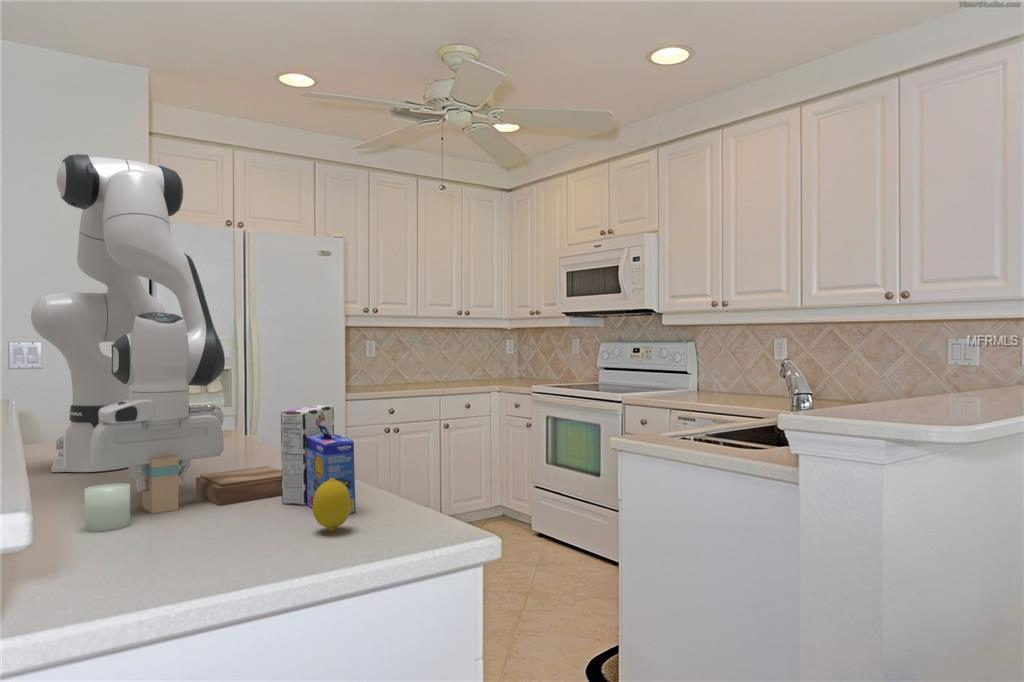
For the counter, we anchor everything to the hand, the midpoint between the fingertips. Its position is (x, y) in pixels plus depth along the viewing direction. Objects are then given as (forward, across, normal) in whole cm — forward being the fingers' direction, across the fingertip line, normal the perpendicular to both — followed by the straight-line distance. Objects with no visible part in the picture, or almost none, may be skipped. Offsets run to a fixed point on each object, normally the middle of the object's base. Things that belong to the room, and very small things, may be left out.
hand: (160, 488), depth 112 cm
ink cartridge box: (+4, -21, +20) cm, 29 cm away
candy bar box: (+4, -22, +10) cm, 24 cm away
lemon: (+4, -15, +32) cm, 36 cm away
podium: (+3, -15, -1) cm, 15 cm away
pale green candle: (+3, +9, +6) cm, 11 cm away
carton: (+3, 0, 0) cm, 3 cm away
